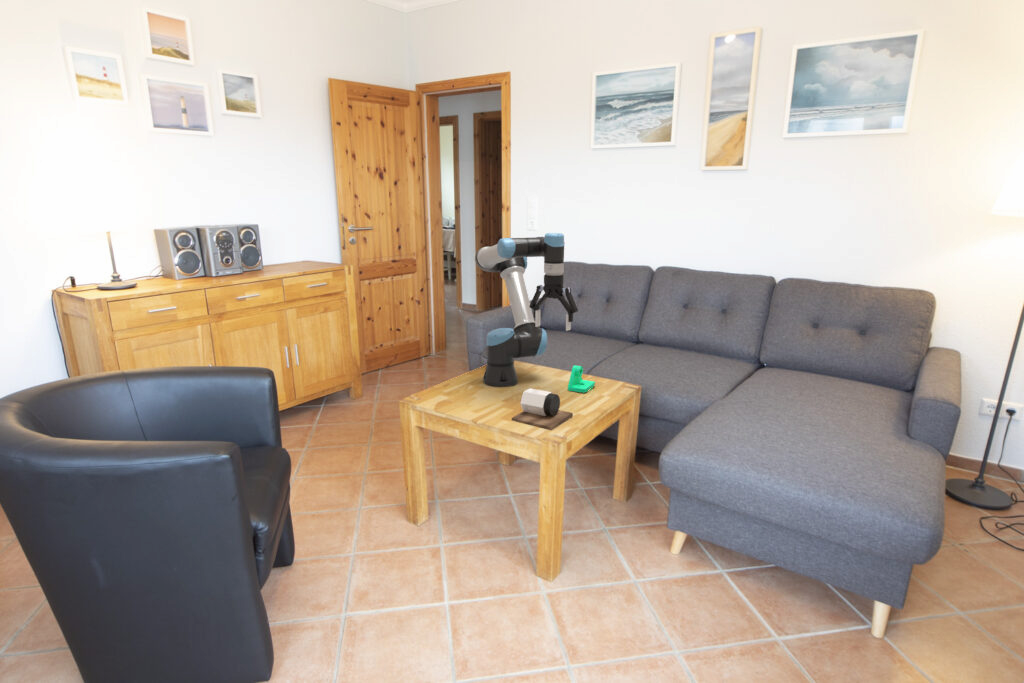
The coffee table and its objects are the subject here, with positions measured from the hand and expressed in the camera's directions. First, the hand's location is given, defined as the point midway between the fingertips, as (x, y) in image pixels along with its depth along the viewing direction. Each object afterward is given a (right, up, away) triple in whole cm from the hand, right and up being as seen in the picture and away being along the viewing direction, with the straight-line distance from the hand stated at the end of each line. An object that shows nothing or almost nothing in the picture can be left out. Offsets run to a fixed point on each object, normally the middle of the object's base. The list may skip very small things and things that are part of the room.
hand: (552, 328), depth 219 cm
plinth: (-5, -34, -19) cm, 39 cm away
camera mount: (+13, -26, +17) cm, 34 cm away
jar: (-11, -27, -15) cm, 32 cm away
